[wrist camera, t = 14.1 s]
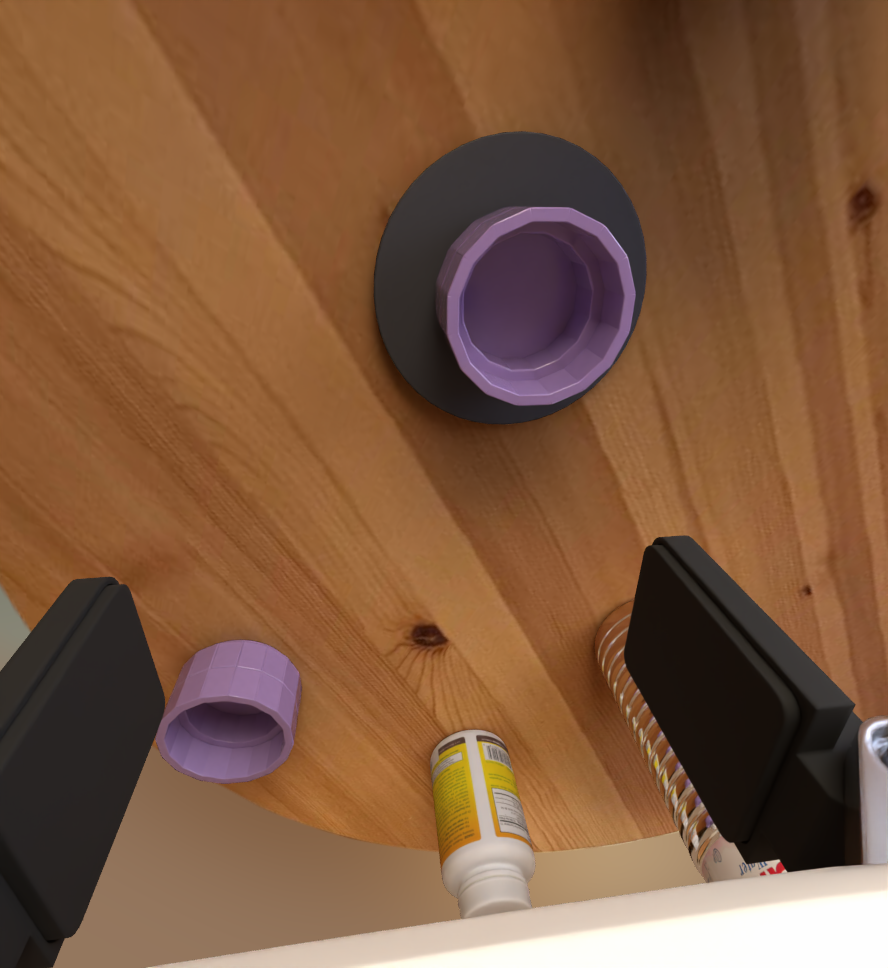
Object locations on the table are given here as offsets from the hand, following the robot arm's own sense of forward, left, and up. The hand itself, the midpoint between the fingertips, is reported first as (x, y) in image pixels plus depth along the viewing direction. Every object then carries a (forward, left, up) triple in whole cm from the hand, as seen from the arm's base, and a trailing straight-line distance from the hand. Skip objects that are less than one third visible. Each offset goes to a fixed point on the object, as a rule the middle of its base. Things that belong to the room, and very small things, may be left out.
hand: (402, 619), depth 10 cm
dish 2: (+6, +3, -16) cm, 18 cm away
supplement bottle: (+5, -28, -17) cm, 33 cm away
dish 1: (-9, -19, -17) cm, 27 cm away
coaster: (+6, +3, -17) cm, 18 cm away
